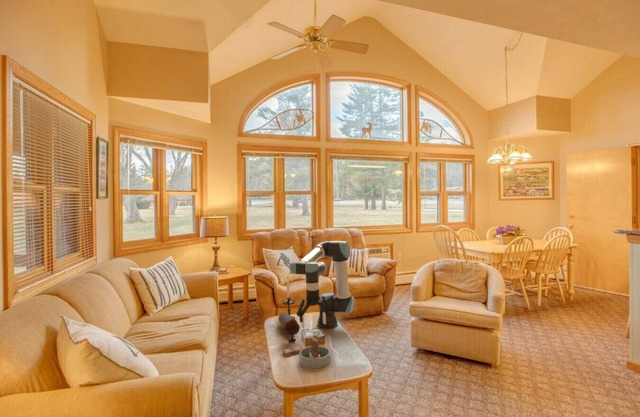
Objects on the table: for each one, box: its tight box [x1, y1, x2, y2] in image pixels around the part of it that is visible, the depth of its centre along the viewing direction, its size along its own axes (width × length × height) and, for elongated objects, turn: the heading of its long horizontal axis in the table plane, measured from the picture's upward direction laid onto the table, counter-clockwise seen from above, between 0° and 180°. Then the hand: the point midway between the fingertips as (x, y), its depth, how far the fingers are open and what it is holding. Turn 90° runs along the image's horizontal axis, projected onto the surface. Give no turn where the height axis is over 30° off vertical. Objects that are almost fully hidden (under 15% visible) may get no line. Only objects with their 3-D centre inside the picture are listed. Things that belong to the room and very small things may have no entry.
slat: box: [282, 345, 305, 357], centre depth 208 cm, size 12×5×2 cm, turn 116°
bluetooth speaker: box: [278, 312, 292, 329], centre depth 245 cm, size 23×9×10 cm, turn 21°
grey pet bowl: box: [298, 345, 331, 369], centre depth 196 cm, size 18×18×5 cm
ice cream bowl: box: [283, 318, 301, 343], centre depth 225 cm, size 11×11×15 cm
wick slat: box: [310, 337, 319, 358], centre depth 196 cm, size 2×5×12 cm, turn 23°
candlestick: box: [281, 276, 296, 320], centre depth 267 cm, size 11×11×35 cm
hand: (313, 325), depth 196 cm, fingers open, 13 cm apart
